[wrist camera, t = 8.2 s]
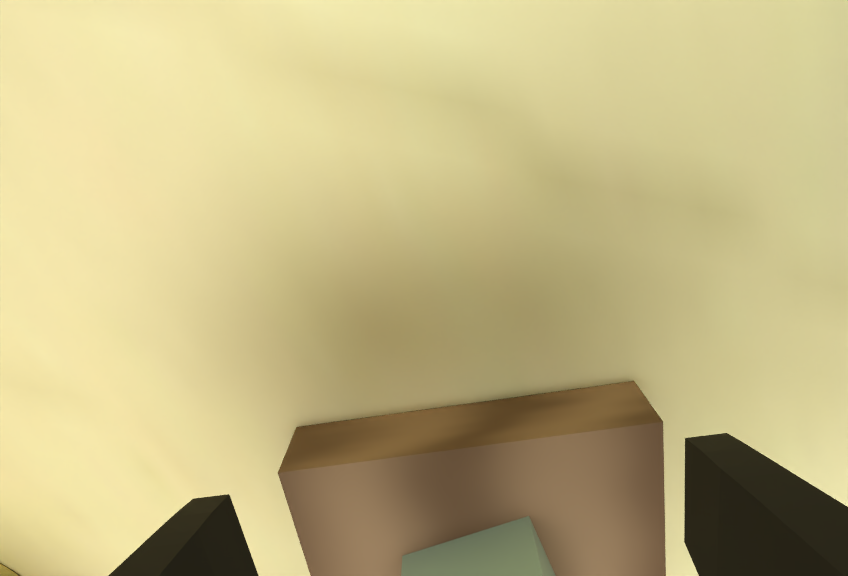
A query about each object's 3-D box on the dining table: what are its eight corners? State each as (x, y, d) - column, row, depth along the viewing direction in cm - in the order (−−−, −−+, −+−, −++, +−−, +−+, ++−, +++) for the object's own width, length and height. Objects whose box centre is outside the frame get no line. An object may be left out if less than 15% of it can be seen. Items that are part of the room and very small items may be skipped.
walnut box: (628, 372, 19) (662, 422, 16) (638, 616, 23) (667, 689, 20) (300, 418, 20) (277, 472, 17) (366, 645, 24) (357, 720, 21)
